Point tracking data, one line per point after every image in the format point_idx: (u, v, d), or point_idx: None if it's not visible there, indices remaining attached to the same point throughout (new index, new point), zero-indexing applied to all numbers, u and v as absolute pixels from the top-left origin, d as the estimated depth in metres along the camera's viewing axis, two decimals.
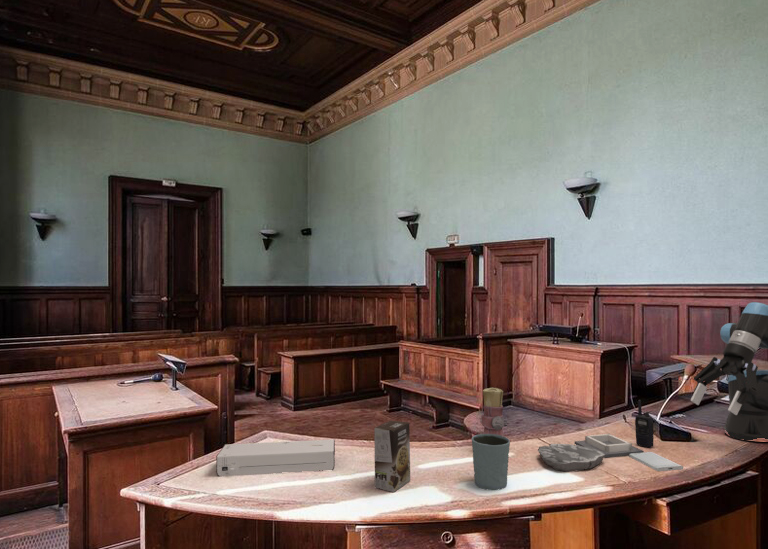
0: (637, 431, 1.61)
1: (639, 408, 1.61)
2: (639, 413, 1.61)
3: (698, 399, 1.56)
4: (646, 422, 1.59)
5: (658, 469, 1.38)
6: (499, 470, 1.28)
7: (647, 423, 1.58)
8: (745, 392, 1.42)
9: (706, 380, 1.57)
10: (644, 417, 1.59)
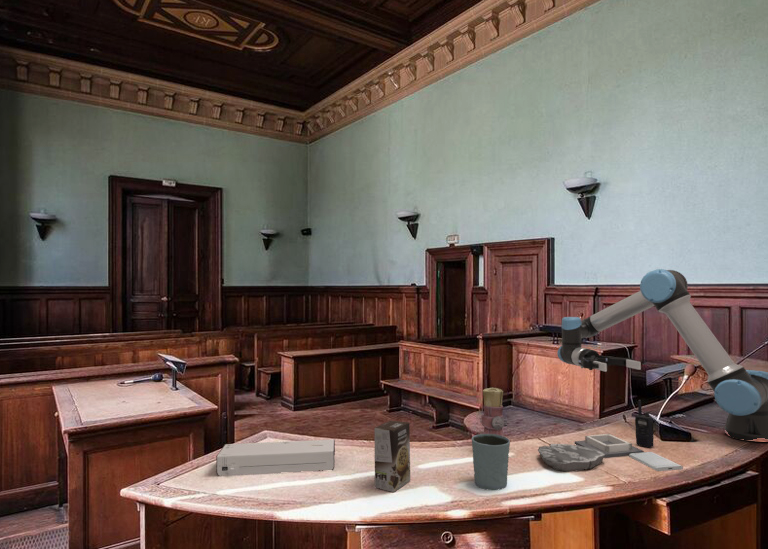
0: (637, 431, 1.61)
1: (639, 408, 1.61)
2: (639, 413, 1.61)
3: (635, 364, 1.74)
4: (646, 422, 1.59)
5: (658, 469, 1.38)
6: (499, 470, 1.28)
7: (647, 423, 1.58)
8: (589, 366, 1.76)
9: (622, 363, 1.80)
10: (644, 417, 1.59)
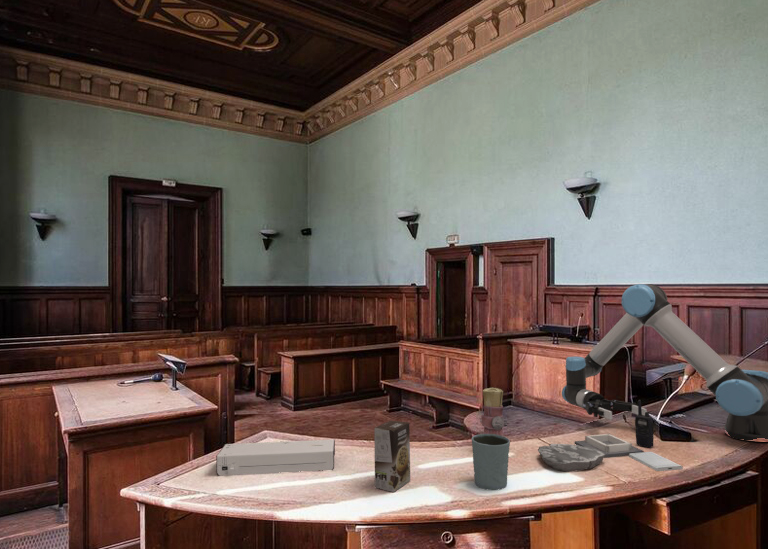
0: (637, 431, 1.61)
1: (639, 408, 1.61)
2: (639, 413, 1.61)
3: None
4: (646, 422, 1.59)
5: (657, 469, 1.38)
6: (499, 470, 1.28)
7: (647, 423, 1.58)
8: (594, 413, 1.73)
9: (627, 408, 1.77)
10: (644, 417, 1.59)
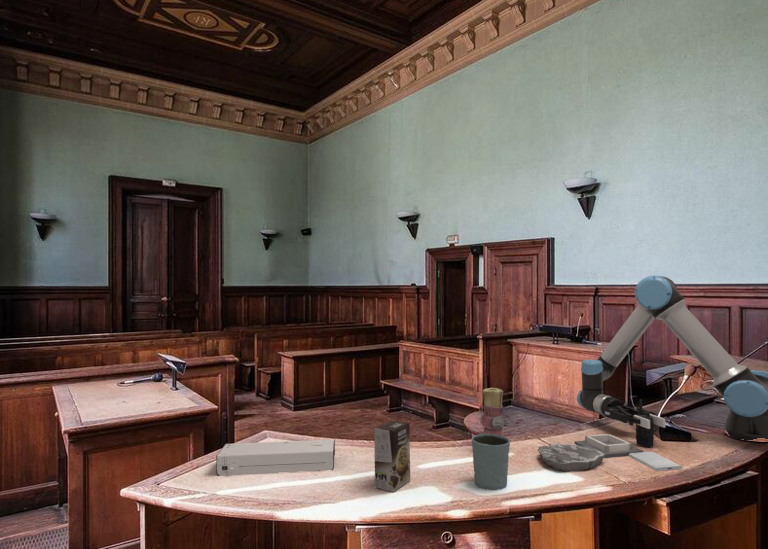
0: (637, 431, 1.61)
1: (640, 408, 1.61)
2: (640, 413, 1.61)
3: (659, 420, 1.58)
4: None
5: (657, 469, 1.39)
6: (499, 470, 1.28)
7: None
8: (631, 421, 1.61)
9: None
10: (645, 417, 1.59)
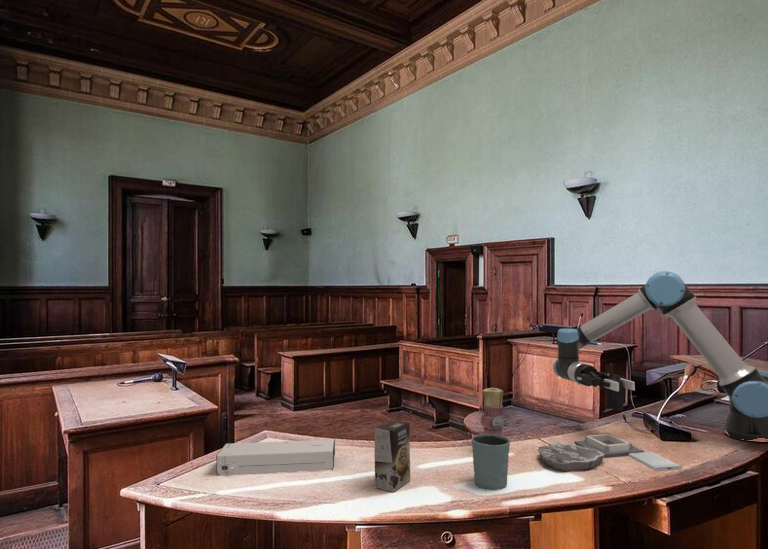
0: (608, 394, 1.60)
1: (610, 371, 1.61)
2: (610, 376, 1.61)
3: (629, 384, 1.57)
4: None
5: (656, 469, 1.39)
6: (499, 470, 1.28)
7: None
8: (601, 385, 1.61)
9: None
10: (615, 380, 1.59)
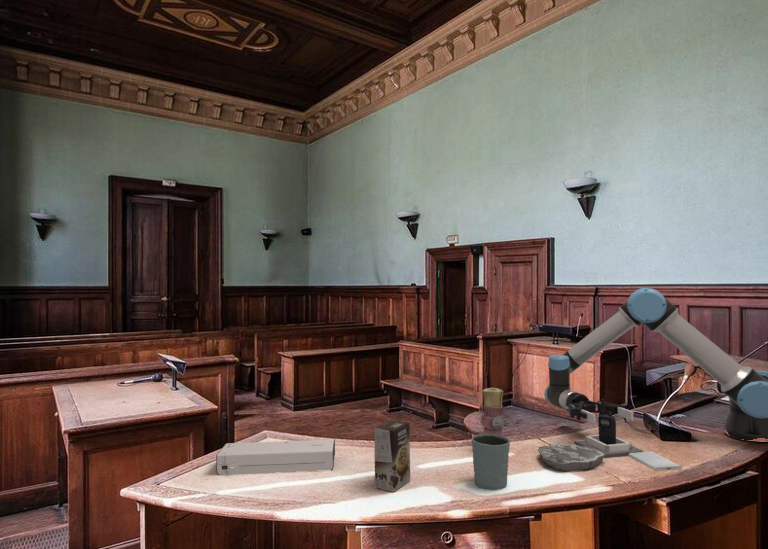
0: (600, 431, 1.58)
1: (602, 407, 1.59)
2: (602, 412, 1.59)
3: (627, 413, 1.58)
4: (608, 422, 1.56)
5: (656, 469, 1.39)
6: (499, 470, 1.28)
7: (610, 423, 1.56)
8: (577, 415, 1.60)
9: (613, 411, 1.64)
10: (607, 417, 1.57)
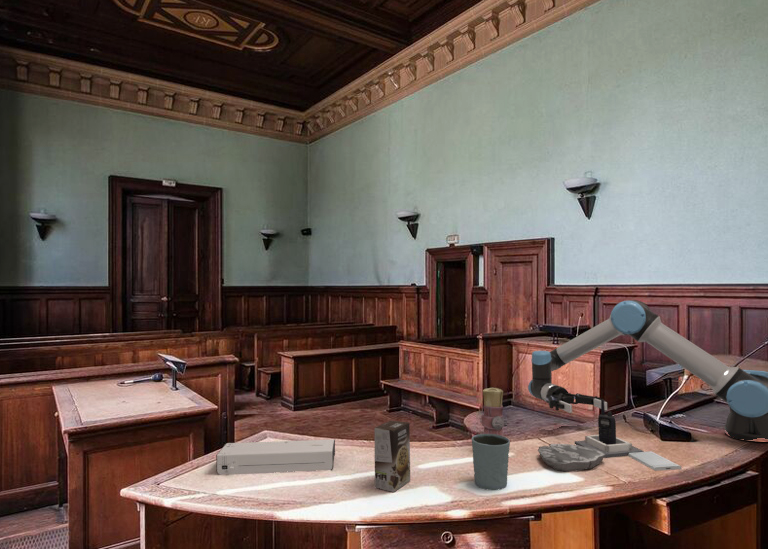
0: (600, 431, 1.58)
1: (602, 408, 1.58)
2: (602, 413, 1.58)
3: None
4: (608, 422, 1.56)
5: (655, 469, 1.39)
6: (499, 470, 1.28)
7: (610, 423, 1.56)
8: (555, 406, 1.73)
9: (589, 402, 1.77)
10: (607, 417, 1.57)
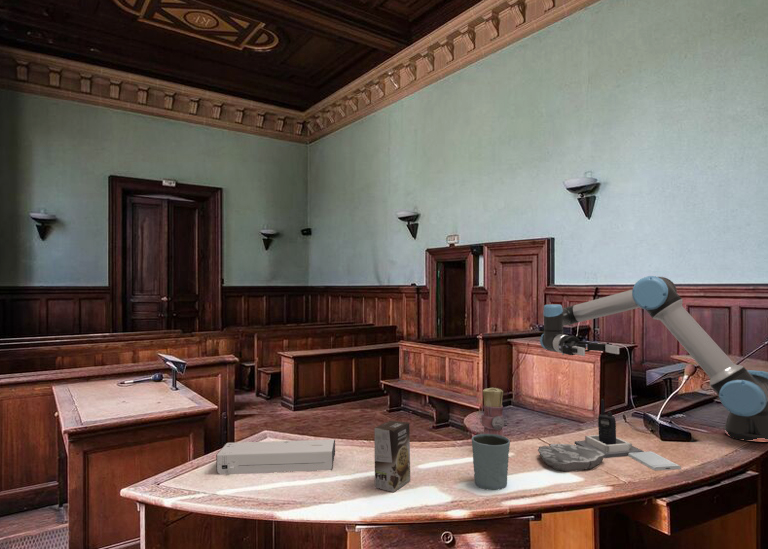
0: (600, 431, 1.58)
1: (602, 408, 1.58)
2: (602, 413, 1.58)
3: (614, 348, 1.75)
4: (608, 422, 1.56)
5: (655, 469, 1.39)
6: (499, 470, 1.28)
7: (610, 423, 1.56)
8: (568, 351, 1.77)
9: (601, 348, 1.81)
10: (607, 417, 1.57)
